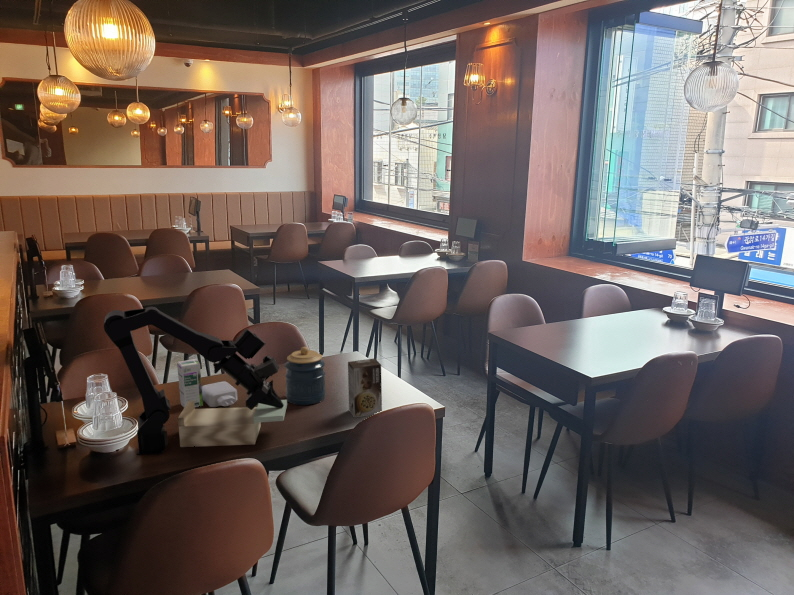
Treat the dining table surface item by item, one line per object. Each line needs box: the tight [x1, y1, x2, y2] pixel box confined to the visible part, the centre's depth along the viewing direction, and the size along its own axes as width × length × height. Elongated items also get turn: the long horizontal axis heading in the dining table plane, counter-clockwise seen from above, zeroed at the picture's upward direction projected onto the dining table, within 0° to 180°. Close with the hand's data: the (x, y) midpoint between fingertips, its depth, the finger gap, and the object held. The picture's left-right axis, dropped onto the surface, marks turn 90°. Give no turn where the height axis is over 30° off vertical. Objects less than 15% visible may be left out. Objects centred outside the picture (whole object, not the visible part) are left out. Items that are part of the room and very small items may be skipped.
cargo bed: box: [177, 401, 262, 448], centre depth 172 cm, size 20×12×8 cm, turn 95°
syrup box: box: [176, 358, 204, 409], centre depth 194 cm, size 6×6×14 cm
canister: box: [284, 346, 327, 406], centre depth 200 cm, size 13×13×18 cm
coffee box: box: [347, 358, 383, 418], centre depth 189 cm, size 9×6×16 cm
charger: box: [202, 381, 238, 408], centre depth 197 cm, size 5×9×15 cm
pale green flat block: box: [254, 399, 288, 423], centre depth 173 cm, size 2×12×8 cm
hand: (282, 406), depth 173 cm, fingers closed, pressing on pale green flat block
